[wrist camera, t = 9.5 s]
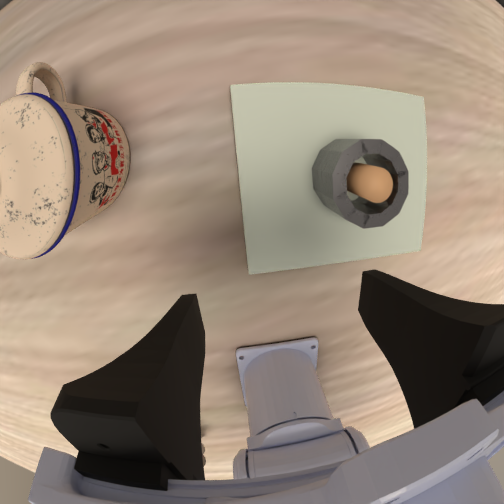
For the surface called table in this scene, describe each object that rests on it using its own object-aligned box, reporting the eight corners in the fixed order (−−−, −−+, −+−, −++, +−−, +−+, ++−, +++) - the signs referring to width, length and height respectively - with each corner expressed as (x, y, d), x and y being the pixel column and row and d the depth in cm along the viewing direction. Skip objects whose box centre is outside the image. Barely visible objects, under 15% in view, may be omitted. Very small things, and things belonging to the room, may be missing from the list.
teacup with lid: (144, 206, 19) (67, 275, 9) (53, 226, 19) (-36, 290, 8) (125, 58, 15) (42, -2, 4) (34, 96, 14) (-64, 90, 4)
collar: (379, 208, 20) (407, 223, 16) (314, 216, 20) (334, 232, 16) (377, 139, 18) (407, 140, 14) (309, 140, 18) (329, 139, 14)
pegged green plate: (414, 246, 23) (450, 271, 18) (247, 269, 22) (255, 306, 17) (416, 97, 18) (459, 93, 13) (229, 87, 17) (231, 67, 12)
